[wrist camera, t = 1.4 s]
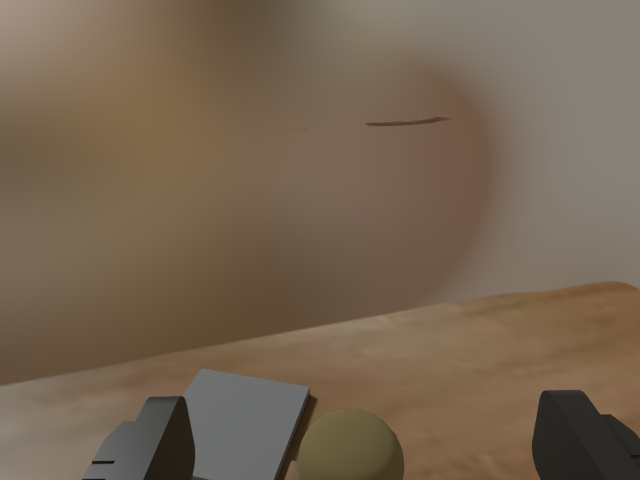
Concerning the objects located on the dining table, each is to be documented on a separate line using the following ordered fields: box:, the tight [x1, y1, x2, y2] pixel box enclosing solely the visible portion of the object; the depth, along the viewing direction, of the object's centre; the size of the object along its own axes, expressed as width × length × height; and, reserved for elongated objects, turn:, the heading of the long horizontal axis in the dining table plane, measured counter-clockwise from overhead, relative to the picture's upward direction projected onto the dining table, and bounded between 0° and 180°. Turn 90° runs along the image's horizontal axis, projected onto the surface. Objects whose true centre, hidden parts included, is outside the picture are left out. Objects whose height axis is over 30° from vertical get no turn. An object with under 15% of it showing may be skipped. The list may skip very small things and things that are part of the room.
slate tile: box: [182, 368, 310, 480], centre depth 36 cm, size 10×10×1 cm
